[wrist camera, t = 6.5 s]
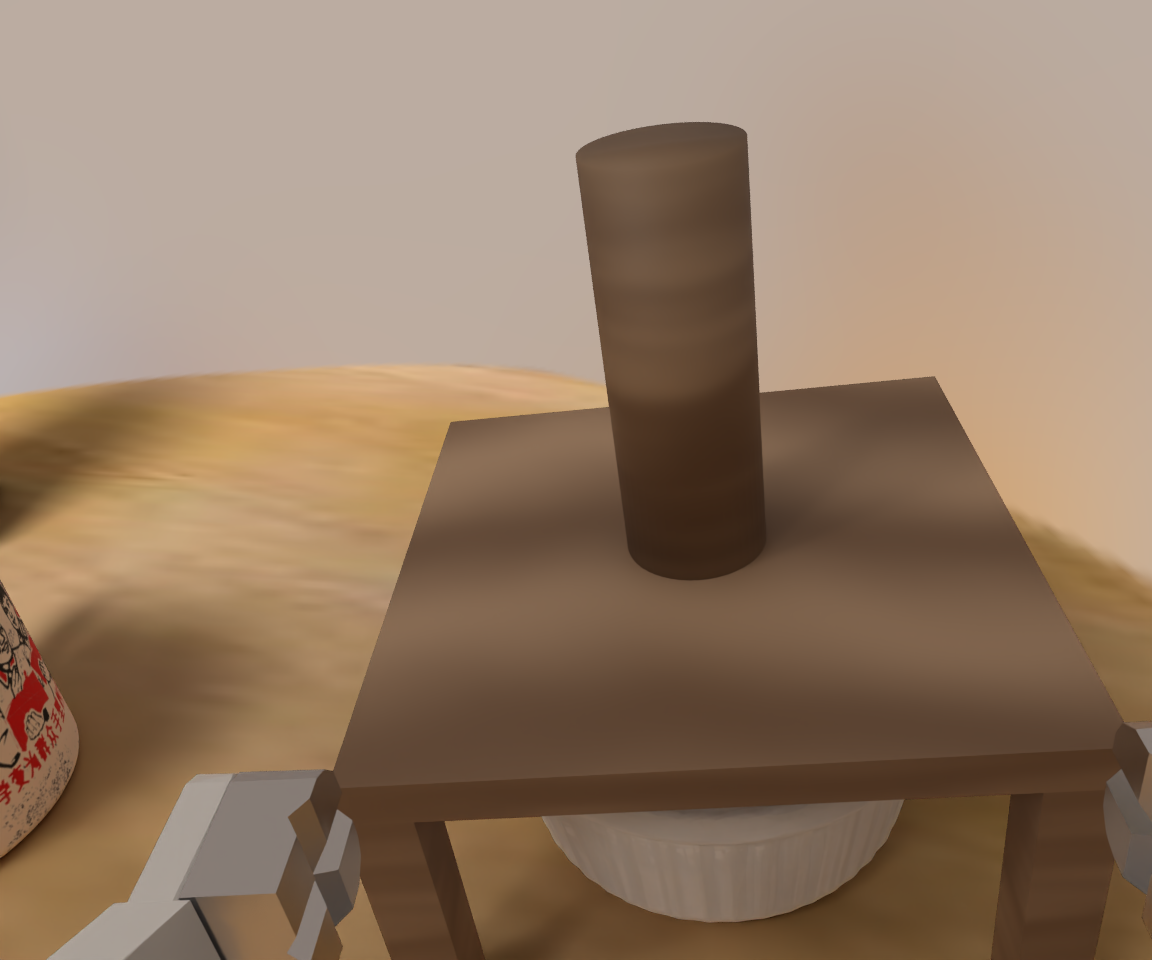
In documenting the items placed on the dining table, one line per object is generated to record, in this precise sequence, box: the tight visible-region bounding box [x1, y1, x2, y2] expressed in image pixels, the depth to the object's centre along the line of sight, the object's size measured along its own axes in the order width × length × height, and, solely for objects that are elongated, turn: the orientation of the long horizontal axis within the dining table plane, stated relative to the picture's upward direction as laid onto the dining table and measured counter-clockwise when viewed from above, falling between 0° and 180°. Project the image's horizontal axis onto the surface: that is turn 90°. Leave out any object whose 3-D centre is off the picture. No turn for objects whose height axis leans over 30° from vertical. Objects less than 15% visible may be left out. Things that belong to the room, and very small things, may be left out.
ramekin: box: [541, 799, 904, 923], centre depth 27 cm, size 11×11×5 cm
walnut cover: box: [333, 122, 1124, 960], centre depth 24 cm, size 14×14×17 cm
